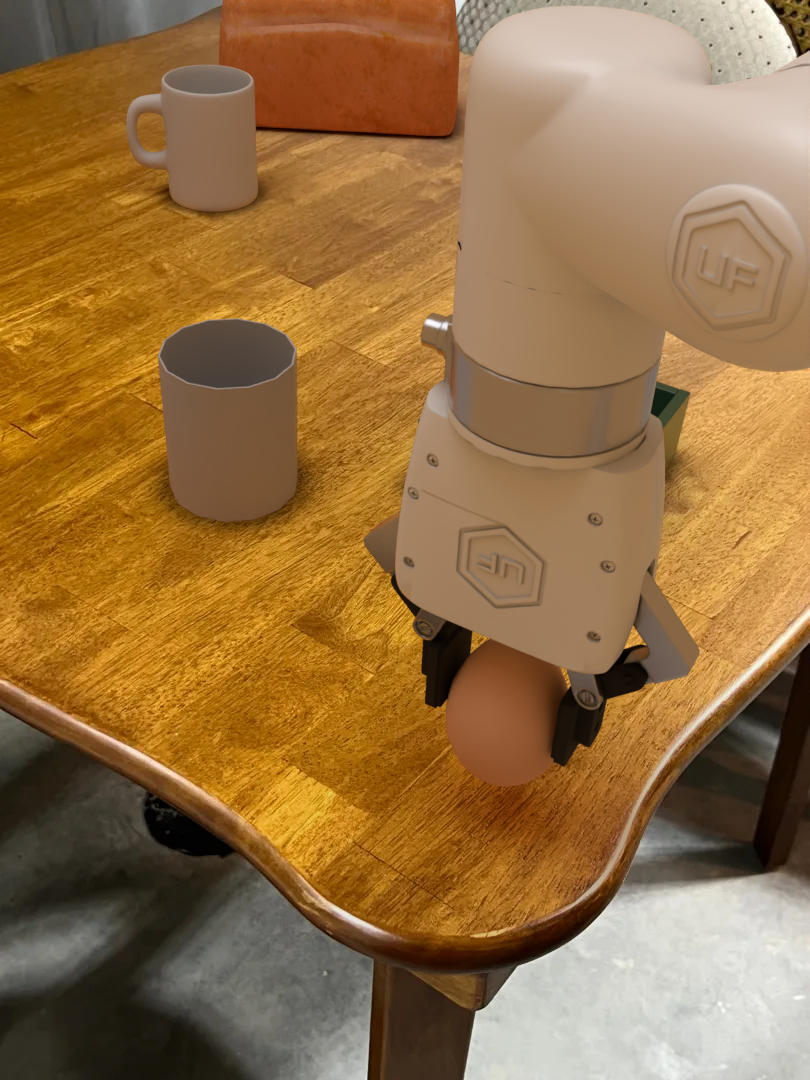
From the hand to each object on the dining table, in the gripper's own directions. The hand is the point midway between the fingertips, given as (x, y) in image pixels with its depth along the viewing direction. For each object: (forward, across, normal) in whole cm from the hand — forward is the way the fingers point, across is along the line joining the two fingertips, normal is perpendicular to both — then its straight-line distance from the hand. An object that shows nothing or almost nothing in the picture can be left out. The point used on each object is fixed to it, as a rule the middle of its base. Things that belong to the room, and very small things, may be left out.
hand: (507, 713), depth 54 cm
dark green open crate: (+6, -10, +27) cm, 30 cm away
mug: (+5, -58, +49) cm, 76 cm away
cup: (+6, -27, +14) cm, 31 cm away
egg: (+4, 0, 0) cm, 4 cm away
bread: (+5, -59, +76) cm, 96 cm away
